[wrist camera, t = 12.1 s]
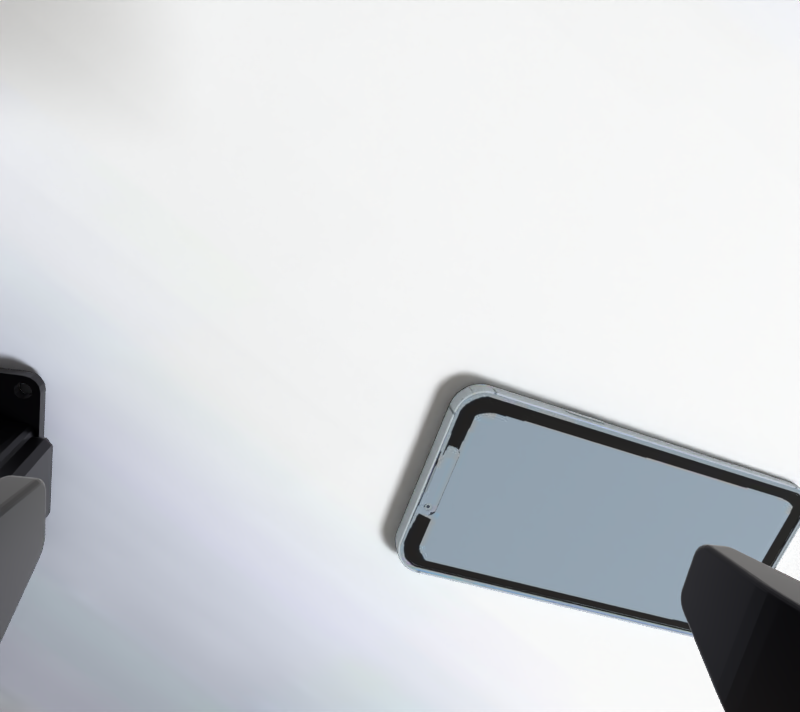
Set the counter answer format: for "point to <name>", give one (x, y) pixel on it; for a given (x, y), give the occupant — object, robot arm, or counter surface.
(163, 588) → the counter surface
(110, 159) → the counter surface
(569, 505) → the smartphone
